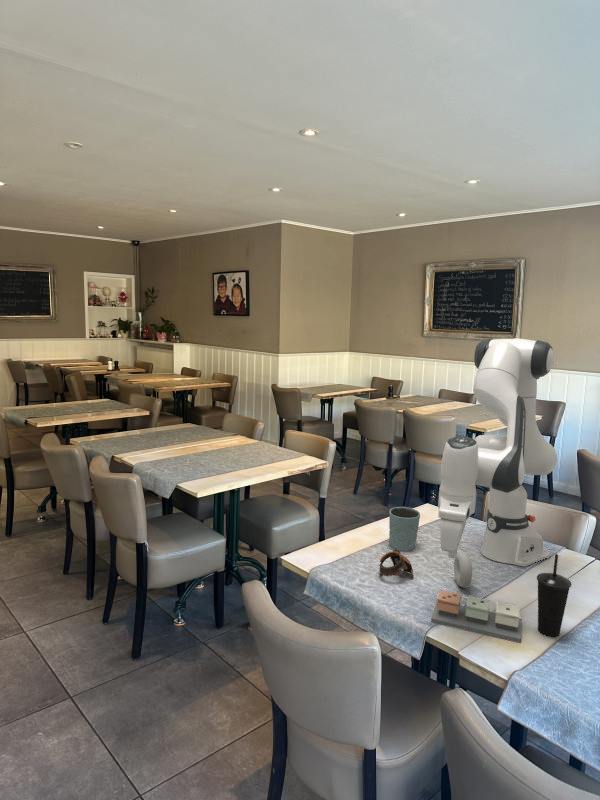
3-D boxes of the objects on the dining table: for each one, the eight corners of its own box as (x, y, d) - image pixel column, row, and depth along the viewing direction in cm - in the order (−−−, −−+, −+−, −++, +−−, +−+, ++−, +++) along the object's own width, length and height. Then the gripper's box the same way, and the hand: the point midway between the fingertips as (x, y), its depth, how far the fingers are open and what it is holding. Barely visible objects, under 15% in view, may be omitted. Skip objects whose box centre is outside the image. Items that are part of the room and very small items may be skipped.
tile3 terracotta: (436, 609, 140) (437, 598, 140) (439, 600, 145) (440, 589, 145) (457, 614, 138) (458, 603, 138) (460, 604, 143) (461, 593, 143)
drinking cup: (525, 623, 139) (533, 548, 136) (554, 623, 140) (563, 548, 137) (541, 641, 132) (549, 561, 129) (572, 640, 133) (581, 561, 130)
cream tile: (495, 622, 135) (496, 611, 135) (496, 612, 140) (497, 601, 139) (518, 627, 133) (519, 616, 133) (518, 617, 138) (519, 606, 137)
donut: (451, 577, 163) (453, 545, 162) (463, 578, 163) (465, 545, 162) (459, 594, 153) (462, 560, 152) (472, 594, 153) (475, 560, 152)
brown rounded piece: (418, 586, 159) (407, 564, 156) (387, 596, 161) (376, 575, 158) (413, 558, 170) (402, 538, 167) (384, 568, 172) (373, 548, 169)
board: (430, 622, 139) (431, 612, 138) (437, 603, 148) (437, 594, 148) (520, 643, 131) (521, 633, 131) (521, 622, 140) (522, 613, 140)
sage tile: (465, 615, 138) (466, 604, 137) (467, 606, 142) (468, 595, 142) (487, 620, 136) (488, 609, 135) (488, 610, 140) (489, 600, 140)
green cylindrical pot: (403, 538, 191) (406, 505, 189) (424, 549, 183) (427, 514, 181) (380, 543, 186) (382, 509, 184) (401, 555, 178) (403, 519, 176)
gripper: (449, 489, 148) (445, 539, 150) (437, 513, 129) (433, 569, 131) (473, 493, 146) (469, 543, 148) (465, 517, 127) (460, 574, 129)
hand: (452, 555), depth 139 cm, fingers closed
